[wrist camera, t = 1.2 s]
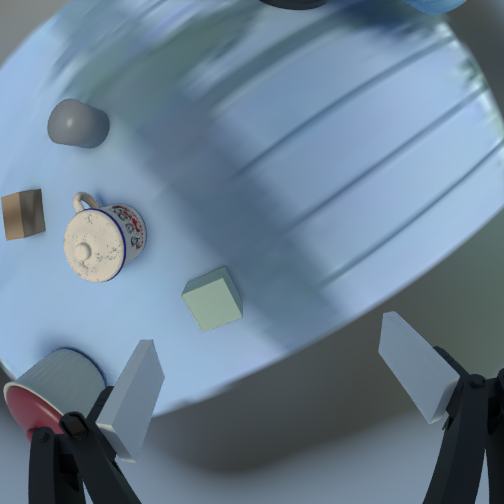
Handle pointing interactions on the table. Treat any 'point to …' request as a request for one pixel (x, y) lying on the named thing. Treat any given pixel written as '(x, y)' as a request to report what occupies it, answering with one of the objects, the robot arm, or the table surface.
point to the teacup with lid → (102, 238)
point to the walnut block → (23, 214)
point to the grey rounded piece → (77, 124)
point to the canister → (53, 391)
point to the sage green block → (213, 299)
